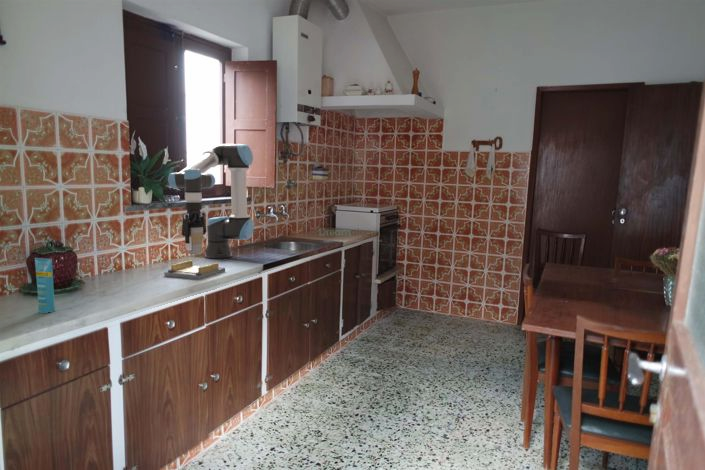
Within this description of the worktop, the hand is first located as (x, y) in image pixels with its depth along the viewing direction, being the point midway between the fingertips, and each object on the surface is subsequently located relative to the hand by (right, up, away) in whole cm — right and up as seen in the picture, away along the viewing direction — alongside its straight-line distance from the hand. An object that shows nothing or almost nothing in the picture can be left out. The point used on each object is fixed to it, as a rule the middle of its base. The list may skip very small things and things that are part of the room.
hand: (194, 248), depth 234 cm
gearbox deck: (0, -12, +2) cm, 12 cm away
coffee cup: (0, -2, 0) cm, 2 cm away
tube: (-32, -21, -63) cm, 73 cm away
